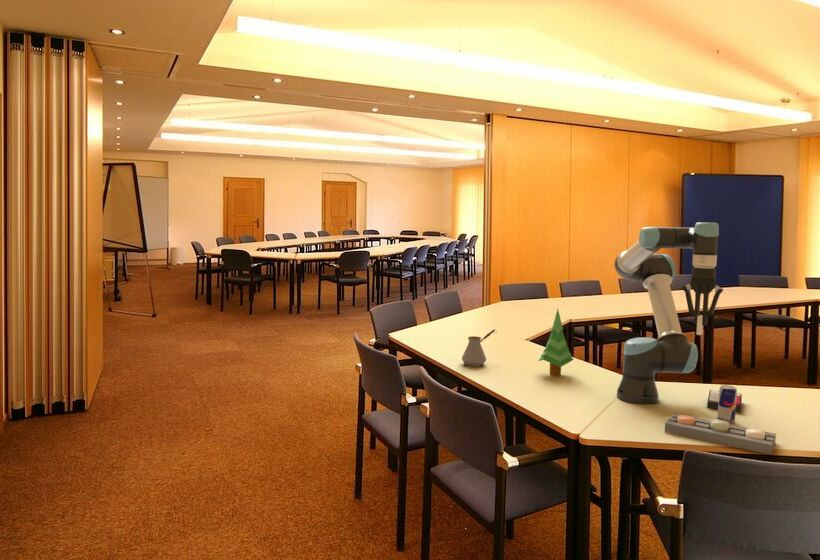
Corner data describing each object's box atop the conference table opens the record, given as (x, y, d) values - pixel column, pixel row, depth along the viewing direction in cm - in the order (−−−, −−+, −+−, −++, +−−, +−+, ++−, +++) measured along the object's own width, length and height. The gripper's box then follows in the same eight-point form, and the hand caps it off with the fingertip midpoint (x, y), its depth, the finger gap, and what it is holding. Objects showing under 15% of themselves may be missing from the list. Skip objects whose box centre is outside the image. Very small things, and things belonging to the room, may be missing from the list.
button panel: (664, 431, 196) (665, 422, 196) (673, 422, 205) (674, 413, 205) (770, 454, 178) (771, 445, 178) (775, 442, 188) (776, 433, 187)
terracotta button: (675, 427, 197) (675, 418, 197) (678, 422, 201) (679, 414, 201) (692, 430, 194) (692, 421, 194) (695, 426, 198) (696, 417, 198)
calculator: (707, 399, 221) (709, 387, 234) (706, 410, 222) (709, 398, 234) (741, 404, 216) (741, 392, 228) (740, 415, 216) (741, 402, 229)
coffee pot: (475, 368, 273) (476, 336, 272) (456, 364, 282) (457, 332, 280) (503, 361, 288) (504, 330, 287) (485, 357, 296) (486, 327, 295)
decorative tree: (565, 370, 273) (567, 305, 270) (575, 379, 257) (578, 310, 254) (535, 370, 272) (537, 305, 269) (544, 379, 257) (547, 310, 254)
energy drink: (727, 424, 204) (729, 390, 203) (713, 419, 209) (716, 385, 208) (738, 422, 206) (740, 388, 205) (724, 417, 211) (727, 384, 210)
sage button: (708, 431, 191) (709, 422, 191) (711, 427, 195) (712, 418, 195) (726, 435, 188) (727, 426, 188) (729, 430, 192) (730, 421, 192)
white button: (743, 441, 185) (744, 431, 185) (746, 436, 189) (747, 427, 189) (763, 445, 182) (763, 435, 182) (765, 440, 186) (766, 431, 186)
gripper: (681, 266, 208) (677, 333, 210) (722, 269, 200) (718, 338, 203) (686, 265, 214) (682, 330, 216) (726, 267, 206) (722, 335, 209)
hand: (699, 334), depth 209 cm, fingers closed
